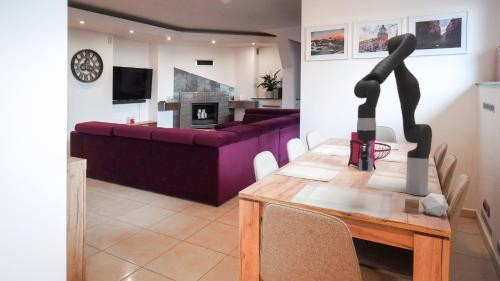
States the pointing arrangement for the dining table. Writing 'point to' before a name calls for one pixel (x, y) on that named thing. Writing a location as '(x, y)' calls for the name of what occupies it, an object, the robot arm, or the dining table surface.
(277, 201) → the dining table surface
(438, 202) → the die
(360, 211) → the dining table surface
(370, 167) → the blue cube
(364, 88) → the robot arm
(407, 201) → the walnut cube
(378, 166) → the dining table surface
